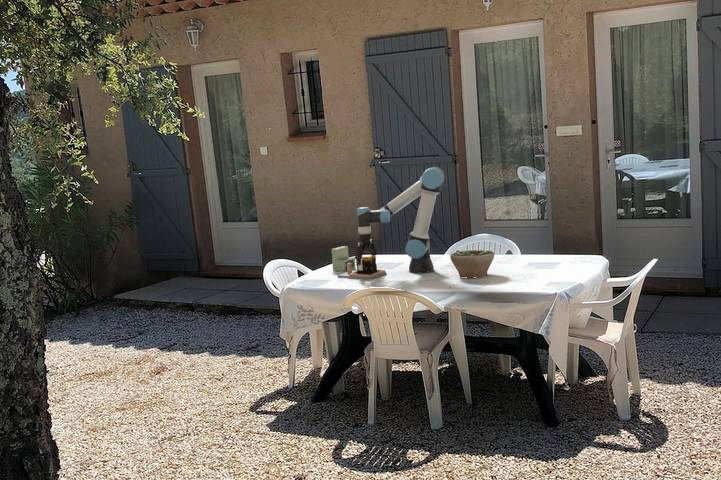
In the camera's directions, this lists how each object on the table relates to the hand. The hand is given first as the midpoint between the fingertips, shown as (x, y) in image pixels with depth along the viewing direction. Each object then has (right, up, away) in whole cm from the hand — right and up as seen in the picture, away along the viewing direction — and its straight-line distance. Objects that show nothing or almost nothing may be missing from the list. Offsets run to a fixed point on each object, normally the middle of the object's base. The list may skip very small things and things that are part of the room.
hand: (367, 268), depth 470 cm
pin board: (-3, -5, +3) cm, 6 cm away
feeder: (-14, -2, +28) cm, 31 cm away
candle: (0, -4, +1) cm, 4 cm away
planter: (+61, -4, -19) cm, 64 cm away
